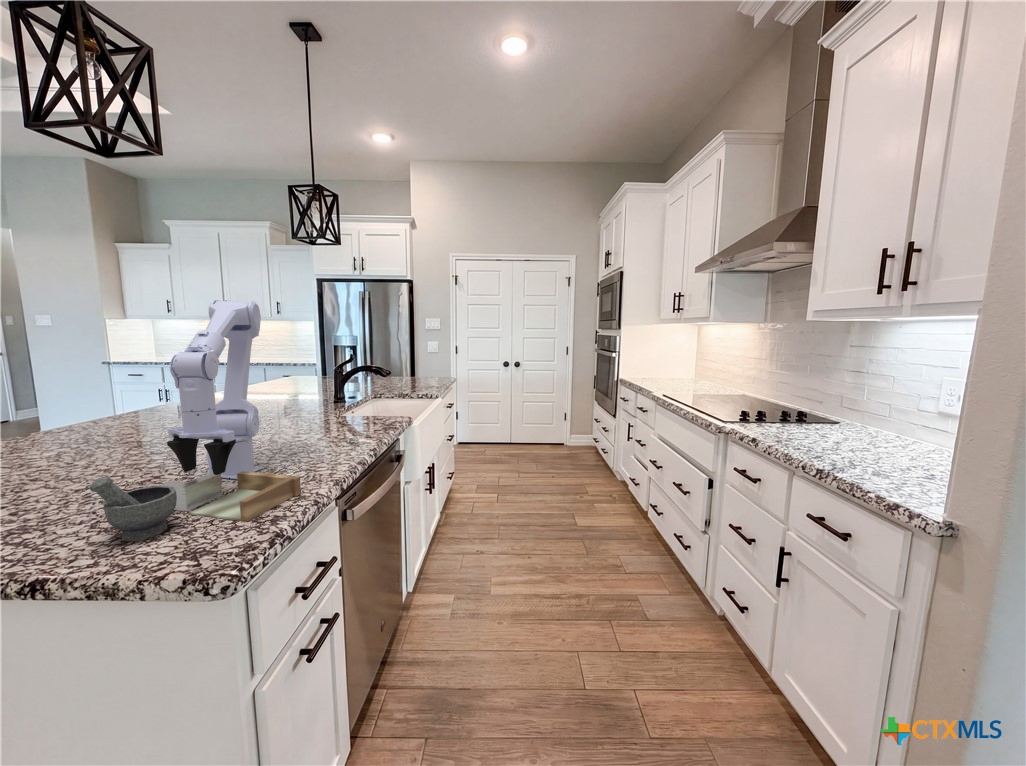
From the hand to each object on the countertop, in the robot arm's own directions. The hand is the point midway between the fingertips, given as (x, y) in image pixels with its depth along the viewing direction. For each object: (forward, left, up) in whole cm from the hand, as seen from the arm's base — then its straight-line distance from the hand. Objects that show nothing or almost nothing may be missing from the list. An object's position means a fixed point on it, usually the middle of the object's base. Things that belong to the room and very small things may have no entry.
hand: (204, 471), depth 85 cm
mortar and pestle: (+2, -14, -7) cm, 16 cm away
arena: (+10, 0, -6) cm, 11 cm away
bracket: (-2, -1, -6) cm, 7 cm away
